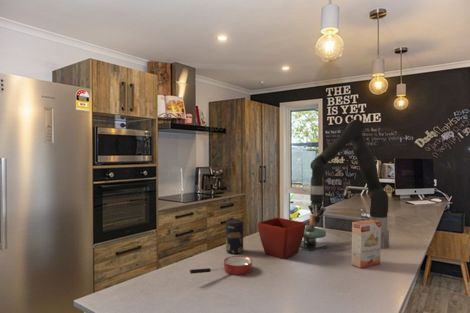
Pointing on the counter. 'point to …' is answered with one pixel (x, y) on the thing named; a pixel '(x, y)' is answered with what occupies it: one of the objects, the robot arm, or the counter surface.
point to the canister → (234, 236)
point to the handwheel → (313, 230)
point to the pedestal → (311, 244)
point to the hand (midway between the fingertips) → (316, 222)
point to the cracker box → (366, 243)
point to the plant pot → (281, 236)
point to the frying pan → (231, 266)
